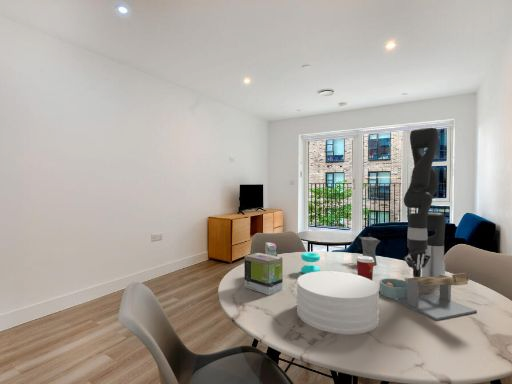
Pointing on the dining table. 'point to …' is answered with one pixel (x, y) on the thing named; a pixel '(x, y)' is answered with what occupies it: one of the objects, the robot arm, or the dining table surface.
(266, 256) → the tea box
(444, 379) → the dining table surface
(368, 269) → the paper cup
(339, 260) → the dining table surface
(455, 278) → the lever
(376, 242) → the coffeepot
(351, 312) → the plate stack
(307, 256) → the donuts
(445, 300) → the stand
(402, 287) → the bowl
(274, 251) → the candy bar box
